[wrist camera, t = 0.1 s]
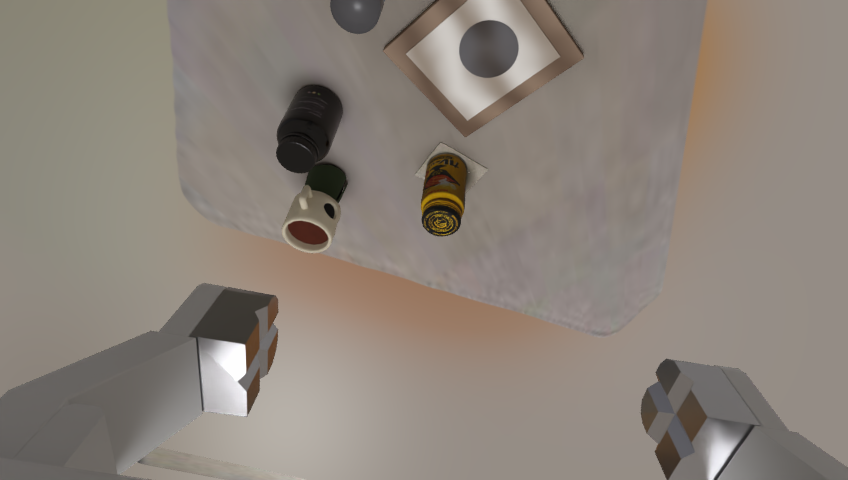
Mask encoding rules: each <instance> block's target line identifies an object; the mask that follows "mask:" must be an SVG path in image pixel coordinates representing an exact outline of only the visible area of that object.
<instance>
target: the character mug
mask: <svg viewBox="0 0 848 480" xmlns="http://www.w3.org/2000/svg"><path fill="white" fill-rule="evenodd" d="M345 180H346V176H345V175H344V173H343V172H342V171H341V170H340V169H338V168H336V167H334V166H332V165H319V166H314V167H313V168H312V169H311V170H310V171H309V173H308V176H307V180H306V183H305V186H304V187H303V190H302V192H301V193H299V194H298V195H297V196H296V197H295V199H294V201H293V203H292V205H291V207H290V210H289V212H288V214H287V217H286V219H285V222H284V224H283V226H282V236H283V237H284V239H285V240H286V242H287V243H288V244H290V245H291V246H292V247H294V248H295V249H298V250H300V251H303V252H308V253H319V252H322V251H324V250H327V249H328V248H329V246H330V245H331V243H332V240H333V237H334V235H335V230H336V226H337V223H338V221H339V219H340V213H341V210H340V206H339V204H338V203H339V201H340V199H341V197H342V195H343V193H344V191H345V189H346V187H347V184H346V186H345V188H344V190H343V185H344V182H345ZM342 190H343V192H342Z"/></svg>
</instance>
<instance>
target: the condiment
mask: <svg viewBox="0 0 848 480" xmlns="http://www.w3.org/2000/svg"><path fill="white" fill-rule="evenodd" d="M467 170H469V172H470V173H468V171H467ZM487 171H488V169H486V168H484V167H483V166H481V165H479V164H477V163H476V162H474V161H472V160H471V159H469V158H467V157H466V156H464V155H462V154H461V153H459V152H457V151H455V150H454V149H452V148H450V147H448V146H447V145H445V144H443V143H441V142H440V144H439V145H438V146H437V147H436V149H435V150H434V151H433V152H432V154H431V155H430V156H429V157H428V159H427V160H426V161H425V163H424V164H423V165H422V166H421V168H420V169H419V170H418V172H417V173H416V174H415V175H416V176H418V177H420V178H422V179H424V180H425V182H424V187H423V195H422V200H421V210H422V224H423V227H424V228H425V229H426V230H427V231H428V232H429V233H431V234H433V235H435V236H448V235H451V234H453V233H455V232H456V231H457V230H458V229H459V227H460V224H461V217H462V215H463V213H464V208H465V194H466V193H467V192H468V191H469V190H470V189H471V187H472V186H473V185H474V184H475V183H476V182H477V181H478V180H479V179H480V178H481V177H482V176H483V175H484V174H485V173H486V172H487Z"/></svg>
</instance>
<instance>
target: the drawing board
mask: <svg viewBox="0 0 848 480" xmlns="http://www.w3.org/2000/svg"><path fill="white" fill-rule="evenodd" d="M383 52H384V53H385V54H386V55H387V56H388V57H389V58H390V59H391V60H392V61H393V62H394V63H395V64H396V65H397V66H398V67H399V69H400V70H401V71H402V72H403V73H404V74H405V75H406V76H407V77H408V78H409V79H410V80H411V81H412V82H413V83H414V84H415V85H416V86H417V87H418V88H419V89H420V91H421V92H422V93H423V94H424V95H425V96H426V97H427V98H428V99H429V100H430V101H431V102H432V103H433V104H434V105H435V106H436V107H437V108H438V109H439V110H440V111H441V113H442V114H443V115H444V116H445V117H446V118H447V119H448V120H449V121H450V122H451V123H452V124H453V125H454V126H455V127H456V128H457V129H458V130H459V131H460V132H461V134H462V135H463V136H464V137H467V136H468V135H470V134H471V133H473V132H474V131H476V130H477V129H479V128H480V127H482V126H483V125H485V124H486V123H488V122H489V121H491V120H492V119H494V118H495V117H497V116H498V115H500V114H501V113H503V112H504V111H506V110H507V109H509V108H510V107H512V106H513V105H515V104H516V103H518V102H519V101H521V100H522V99H524V98H525V97H527V96H528V95H529V94H531V93H532V92H534V91H535V90H537V89H538V88H540V87H541V86H543V85H544V84H546V83H547V82H549V81H550V80H552V79H553V78H555V77H556V76H558V75H559V74H561V73H562V72H564V71H565V70H567V69H568V68H570V67H571V66H573V65H574V64H576V63H577V62H579V61H580V60H582V59H583V58H584V55H583V53H582V52H581V50H580V49H579V47H578V46H577V44H576V43H575V41H574V40H573V38H572V37H571V36H570V34H569V33H568V31H567V30H566V28H565V27H564V25H563V24H562V22H561V21H560V19H559V18H558V17H557V15H556V14H555V12H554V11H553V9H552V8H551V6H550V5H549V3H548V2H547V0H436V1H435V2H434V3H433V4H432V5H431V6H430V7H428V8H427V9H426V10H425V11H424V12H423V13H422V14H421V15H420V16H418V17H417V18H416V19H415V20H414V21H413V22H412V23H411V24H410V25H408V26H407V27H406V28H405V29H404V30H403V31H402V32H401V33H400V34H399V35H397V36H396V37H395V38H394V39H393V40H392V41H391V42H390V43H389V44H387V45H386V46H385V47H384V50H383Z"/></svg>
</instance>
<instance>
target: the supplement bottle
mask: <svg viewBox="0 0 848 480" xmlns="http://www.w3.org/2000/svg"><path fill="white" fill-rule="evenodd" d="M341 118H342V106H341V103H340V101H339V100H338V98H337V97H336V96H335V95H334V94H333V93H332V92H331V91H329V90H328V89H326V88H324V87H320V86H307V87H304V88H302V89H301V90H299V91H298V92H297V94H296V95H295V97H294V99H293V101H292V102H291V104H290V106H289V108H288V110H287V112H286V114H285V116H284V117H283V119H282V121H281V123H280V125H279V127H278V130H277V141H278V147H277V151H276V154H277V155H276V156H277V159H278V160H279V163H281V165H282V166H283V167H284V168H286V169H287V170H289V171H291V172H294V173H306V172H308V171H310V170H311V169H312V168H313V167H314V165H315V163H316V162H318V161H320V160H322V159H323V158H324V157H325V156H326V155H327V154H328V152H329V150H330V147H331V145H332V142H333V139H334V137H335V134H336V132H337V129H338V126H339V124H340V121H341Z"/></svg>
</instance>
